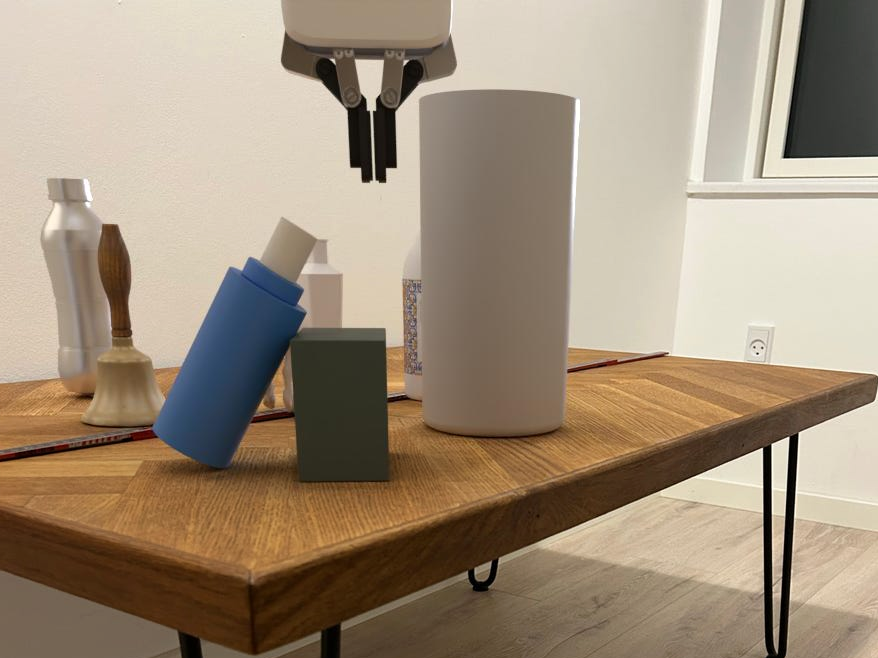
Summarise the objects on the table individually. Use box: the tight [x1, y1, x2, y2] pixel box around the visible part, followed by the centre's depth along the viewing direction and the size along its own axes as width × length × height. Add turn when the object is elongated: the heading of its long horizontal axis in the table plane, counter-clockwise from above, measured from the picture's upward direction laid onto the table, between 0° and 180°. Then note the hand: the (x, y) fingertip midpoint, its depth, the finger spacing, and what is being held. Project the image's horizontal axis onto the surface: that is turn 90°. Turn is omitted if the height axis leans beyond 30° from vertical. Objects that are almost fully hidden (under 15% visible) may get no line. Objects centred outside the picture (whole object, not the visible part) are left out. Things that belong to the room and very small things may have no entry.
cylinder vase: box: [418, 88, 581, 438], centre depth 78 cm, size 12×12×25 cm
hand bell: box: [80, 223, 166, 427], centre depth 81 cm, size 8×8×16 cm
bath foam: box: [401, 229, 422, 402], centre depth 95 cm, size 7×7×20 cm
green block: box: [290, 327, 390, 483], centre depth 66 cm, size 6×10×9 cm, turn 5°
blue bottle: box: [152, 216, 318, 469], centre depth 64 cm, size 12×6×16 cm, turn 95°
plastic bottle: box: [39, 177, 112, 397], centre depth 93 cm, size 6×7×20 cm
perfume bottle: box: [296, 238, 344, 331], centre depth 84 cm, size 5×4×15 cm
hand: (374, 180), depth 60 cm, fingers closed
